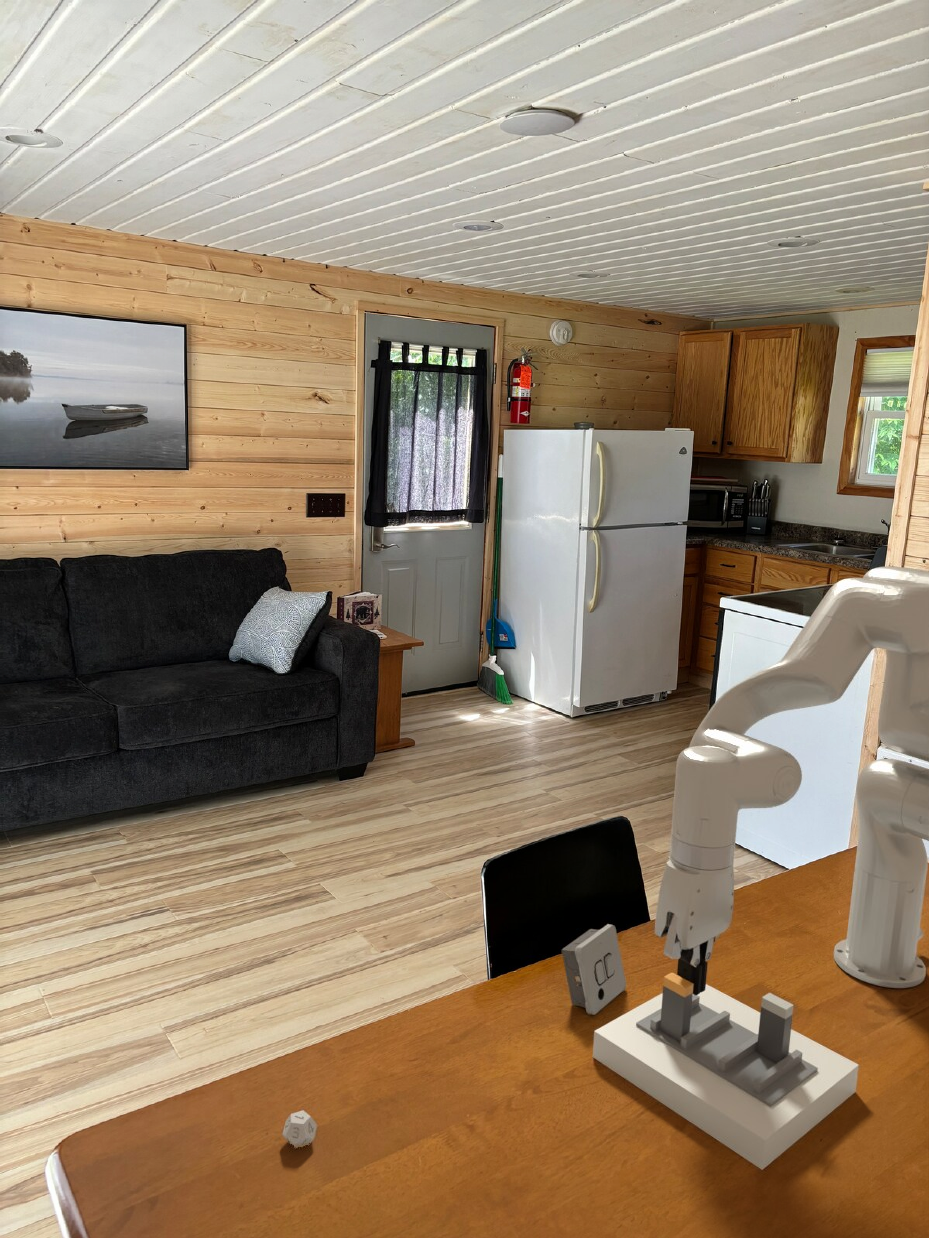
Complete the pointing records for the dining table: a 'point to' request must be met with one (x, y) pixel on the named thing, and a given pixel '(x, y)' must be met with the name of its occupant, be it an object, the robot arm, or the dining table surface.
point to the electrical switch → (594, 969)
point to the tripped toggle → (676, 1006)
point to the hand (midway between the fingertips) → (690, 988)
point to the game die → (299, 1128)
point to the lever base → (731, 1070)
